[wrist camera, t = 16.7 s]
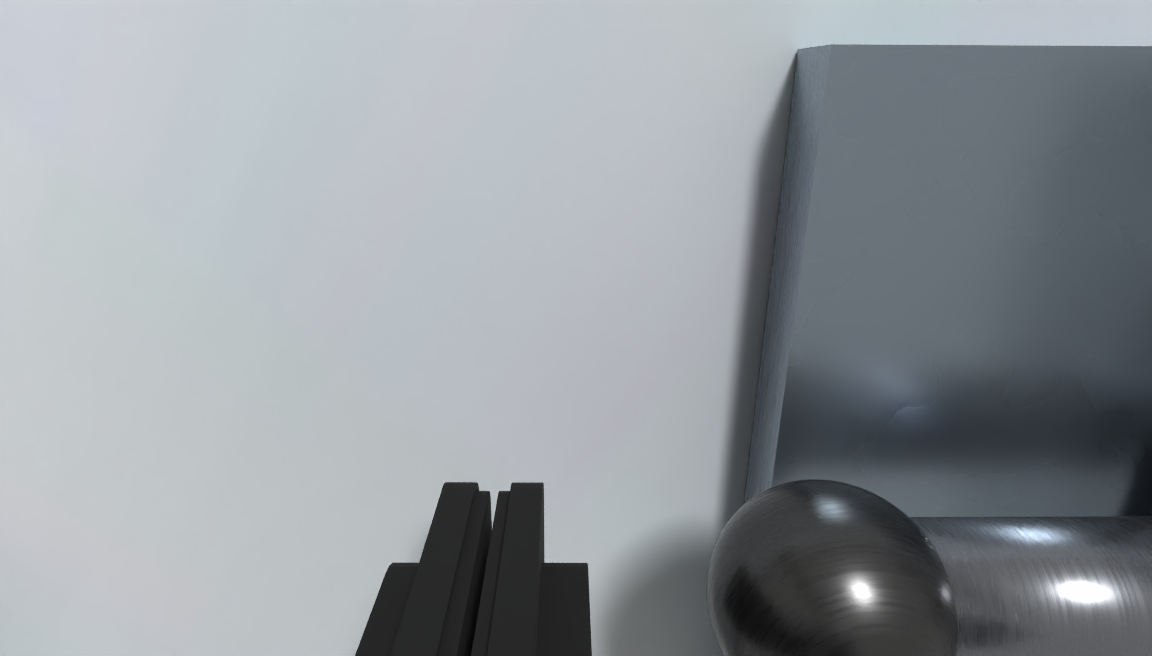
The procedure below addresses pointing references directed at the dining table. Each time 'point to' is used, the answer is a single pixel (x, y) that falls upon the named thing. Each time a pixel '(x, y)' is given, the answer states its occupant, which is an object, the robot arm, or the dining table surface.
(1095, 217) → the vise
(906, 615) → the vise jaw
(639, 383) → the dining table surface
